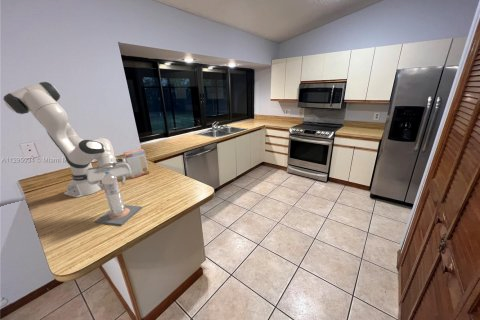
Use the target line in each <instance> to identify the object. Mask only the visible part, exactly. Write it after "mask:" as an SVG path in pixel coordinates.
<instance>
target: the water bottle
mask: <svg viewBox="0 0 480 320" xmlns="http://www.w3.org/2000/svg"><path fill="white" fill-rule="evenodd" d="M105 173H106V175H105V176H104V177H103V179H102V183H101V185H102V186H103V187H104V190H103V191H104V193H105V198H106V201H107V205H108V208H109V211H111V214H112V216H114V217H117V216H121V215H123V214H124V213H125V211H126V210H125V206H124V205H125V202H124V200H123V199H124V198H123V196H122V190H121V189H120V185H119V181H118V179H117V177H116V176H114V175H112V174H110V172H109V171H106V172H105Z"/></svg>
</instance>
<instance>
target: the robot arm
mask: <svg viewBox="0 0 480 320" xmlns="http://www.w3.org/2000/svg"><path fill="white" fill-rule="evenodd" d="M60 98H61V94H60V92H59V90H58V89H57V88H56V86H54V85H53V84H51V83H50V82H47V81H41V82H38V83H35V84H30V85H27V86H24V87H22V88H19V89H17V90H15V91H12V92H11V93H10V92H8V93H7V94H5V95H4V96H3V101H4V104H5V106H6V107H7V109H8V108H9V110H11V111H13V112H15V113H16V114H19V115H24V114H28V113H30V112H31V115H32V116H34V118H35V119H36V120H37V121H38V123H39V124H40V125H41V126H42V127H43V128H44V129H45V130H46V133H47V135H48V136H49V138H50V139H51V140H52V142H53V143H54V144H55V145H56V147H57V148H58V150H60V152H61V153H62V155H64V158H65V160H66V163H67V164H68V165H69V167H70V169H71V173H72V174H71V175H70V177H72V179H71V180H70V181H69V183H67V185H66V188H67V190H65V191H64V193H63V195H64V196H65V195H66V196H69V197H73V198H82V197H85V196H89V195H92V194H93V195H94V194H95V193H97V192H99V191H105V190H104V187H103V185H102V179H103V177H104V176H105V175H106V173H105V172H106V171H109V172H110V174H112V175H114V176H116V177H117V180H120V179H122V180H121V186H123V185H124V186H125V185H126V183H125V182H126V180H127V179H126V178H128V177H130V176H131V175H132V172H131V169H130V167H129V165H128V164H127V163H126V160H125V157H124V158H123V157H121V158H119V157H116V156H115V150H114V147H113V144H112V142H111V141H110V140H109V139H107V138H104V137H98V138H96V139H92V140H90V139H84V138H81V137H80V136H79V135H78V133H77V132H76V130H74V129H73V127H72V126H71V124H70V123H69V116H68V113H67V111H66V110H65V109H64V107H62V106H61V104H60V103H58V101H59V100H60ZM93 160H96V163H97V165H98V166H93V165H92V161H93Z"/></svg>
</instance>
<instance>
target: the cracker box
mask: <svg viewBox="0 0 480 320" xmlns="http://www.w3.org/2000/svg"><path fill="white" fill-rule="evenodd" d="M123 156H124V159H125V160H126V163H127V164H128V165H129V167H130V169H131V172H132V175H131V176H129V177H130V179H131V180H133V179H135V178H136V179H137V178H140V177H142V176H146V175H149V174H150V169H149V165H148V162H147V161H148V160H147V157H146V156H147V155H146V151H145V149H143V148H138V149H134V150H131V151H126V152H123Z"/></svg>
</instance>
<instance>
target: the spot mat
mask: <svg viewBox="0 0 480 320" xmlns="http://www.w3.org/2000/svg"><path fill="white" fill-rule="evenodd" d="M124 206H125V210H126V211H125V213H124V214H123V215H121V216H117V217H114V216H112V214H111V211H110V210H108V211H107V212H106V213H103V215H101V216H99V218H97V219H96V220H95V221H94V222H95V223H97V224H103V225H114V226H124V224H125V223H127V222H128V221H129V220H130V219H131V218H132V217H134V216H135V215H136V214H138V212H139V211H141V210H142V209H143V206H138V205H129V204H124Z"/></svg>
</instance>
